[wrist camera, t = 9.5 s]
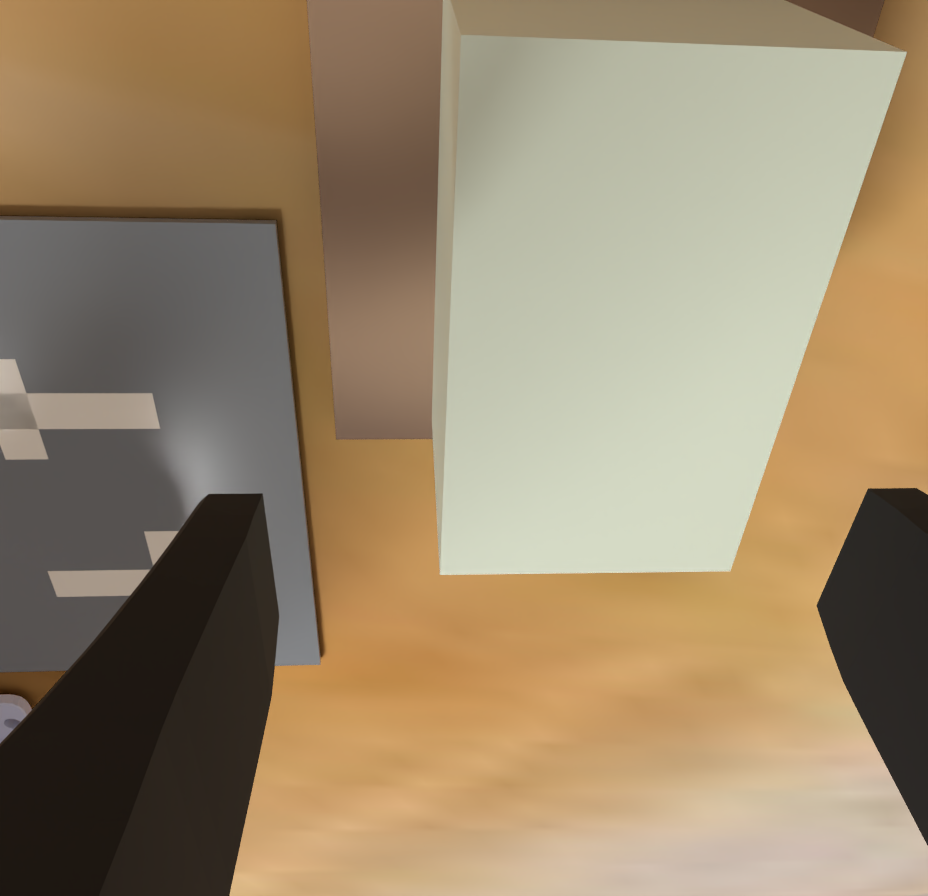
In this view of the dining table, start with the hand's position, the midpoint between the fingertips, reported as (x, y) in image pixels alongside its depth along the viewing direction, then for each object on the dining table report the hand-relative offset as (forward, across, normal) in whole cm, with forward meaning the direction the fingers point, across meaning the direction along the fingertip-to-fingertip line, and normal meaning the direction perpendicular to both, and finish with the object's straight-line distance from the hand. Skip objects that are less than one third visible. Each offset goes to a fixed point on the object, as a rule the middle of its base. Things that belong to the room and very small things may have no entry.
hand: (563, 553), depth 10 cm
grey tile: (+9, +10, +6) cm, 15 cm away
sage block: (+8, -2, -1) cm, 9 cm away
